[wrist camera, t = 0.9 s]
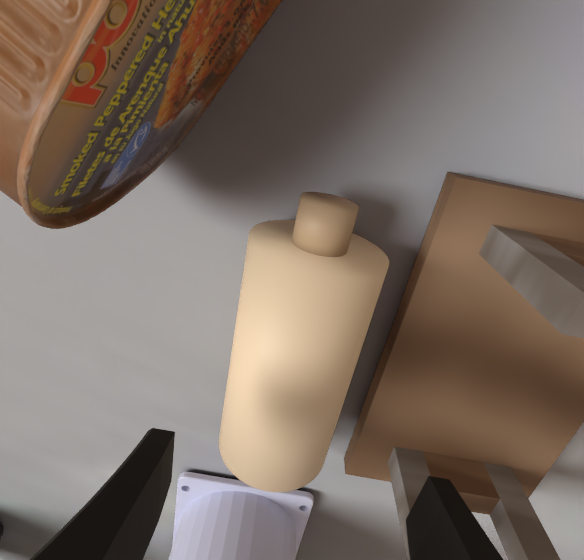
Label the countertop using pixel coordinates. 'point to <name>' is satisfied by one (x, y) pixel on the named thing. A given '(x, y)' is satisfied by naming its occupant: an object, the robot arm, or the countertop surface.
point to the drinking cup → (1, 530)
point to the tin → (107, 93)
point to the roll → (297, 341)
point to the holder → (482, 358)
